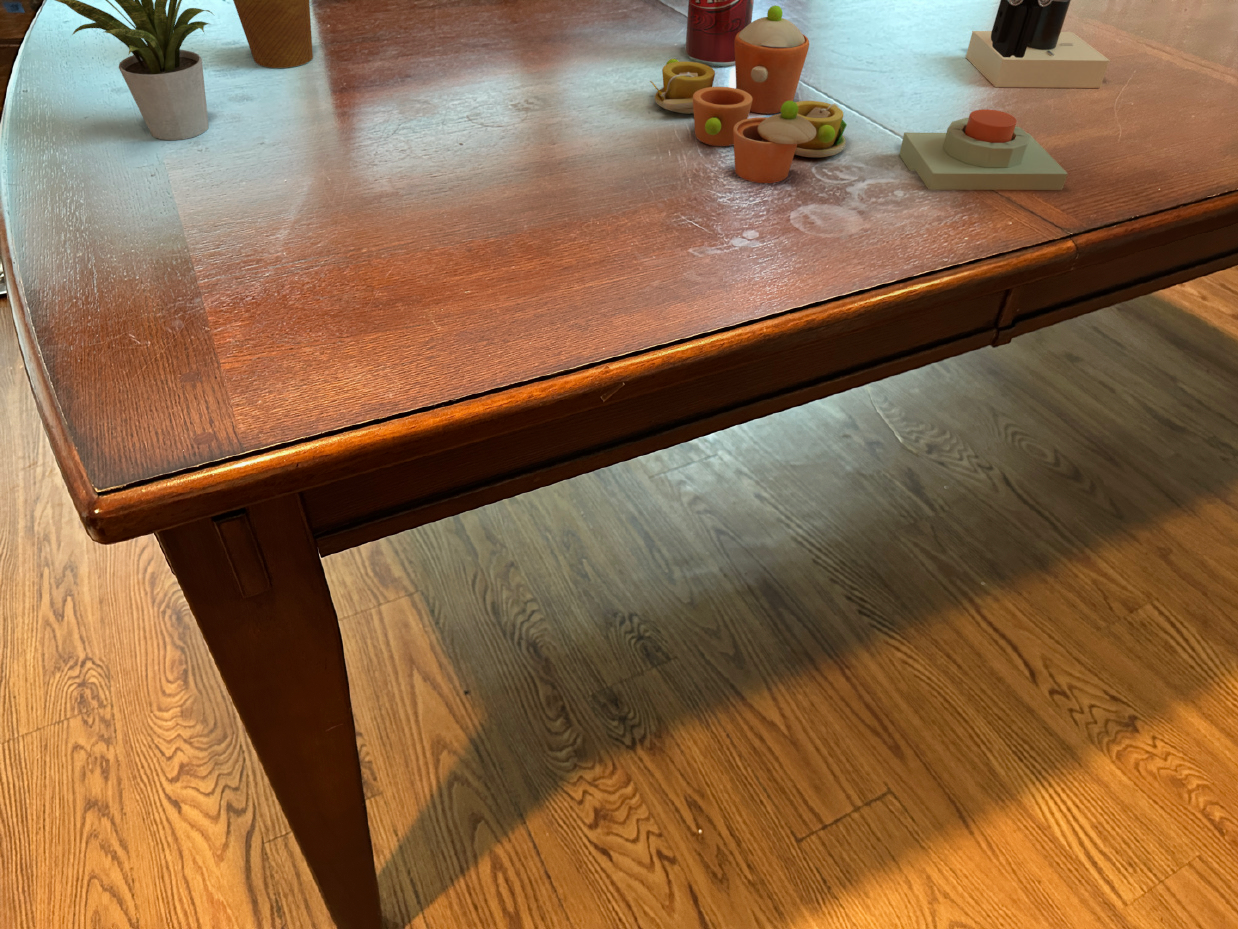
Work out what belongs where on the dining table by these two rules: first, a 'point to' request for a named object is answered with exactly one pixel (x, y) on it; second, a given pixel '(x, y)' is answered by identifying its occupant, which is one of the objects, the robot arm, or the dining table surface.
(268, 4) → the disposable coffee cup
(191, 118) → the house plant
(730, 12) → the soda can
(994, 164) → the button housing
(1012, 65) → the beige slotted block
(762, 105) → the toy tea set
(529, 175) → the dining table surface
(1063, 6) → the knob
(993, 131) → the button
